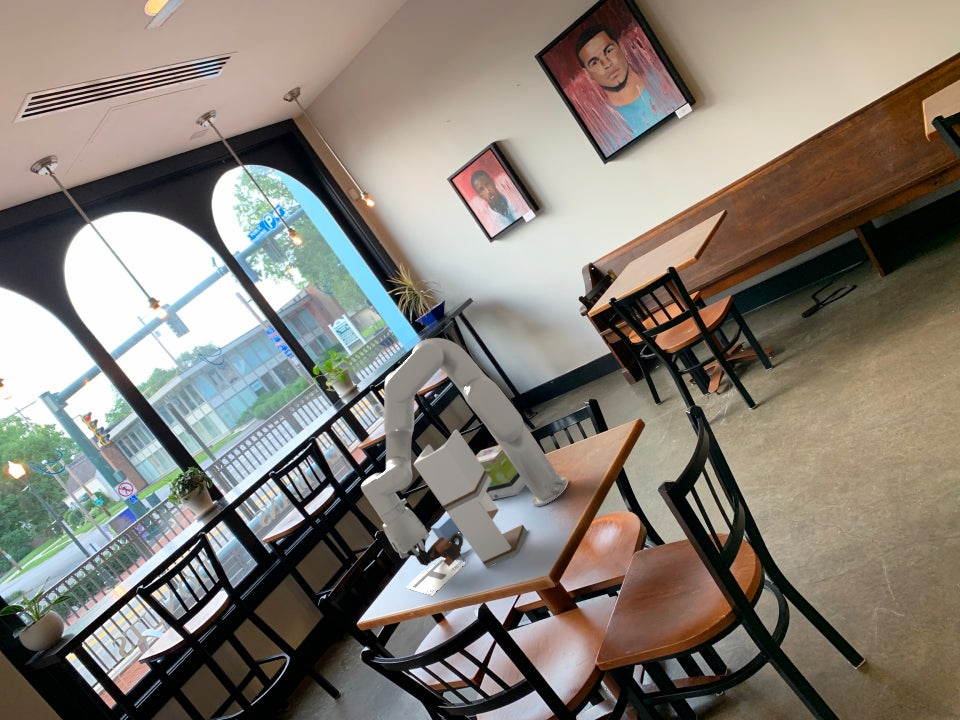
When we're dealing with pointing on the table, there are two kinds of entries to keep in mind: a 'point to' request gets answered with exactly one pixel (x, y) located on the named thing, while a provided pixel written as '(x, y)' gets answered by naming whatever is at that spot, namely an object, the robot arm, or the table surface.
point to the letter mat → (434, 577)
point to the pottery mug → (446, 549)
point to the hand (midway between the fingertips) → (427, 563)
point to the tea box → (500, 473)
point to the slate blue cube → (445, 527)
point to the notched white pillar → (468, 498)
